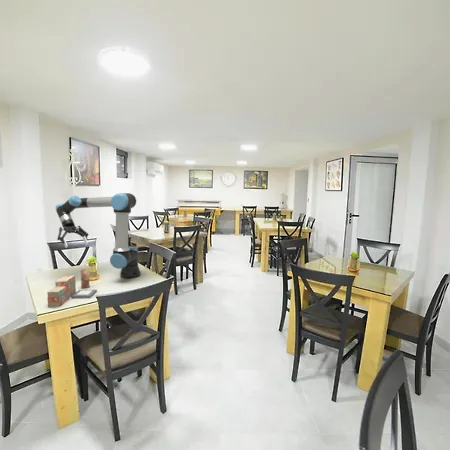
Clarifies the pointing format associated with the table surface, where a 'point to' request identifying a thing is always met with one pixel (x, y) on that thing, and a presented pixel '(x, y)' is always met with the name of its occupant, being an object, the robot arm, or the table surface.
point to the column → (85, 279)
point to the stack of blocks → (61, 291)
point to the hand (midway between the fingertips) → (77, 245)
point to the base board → (84, 294)
